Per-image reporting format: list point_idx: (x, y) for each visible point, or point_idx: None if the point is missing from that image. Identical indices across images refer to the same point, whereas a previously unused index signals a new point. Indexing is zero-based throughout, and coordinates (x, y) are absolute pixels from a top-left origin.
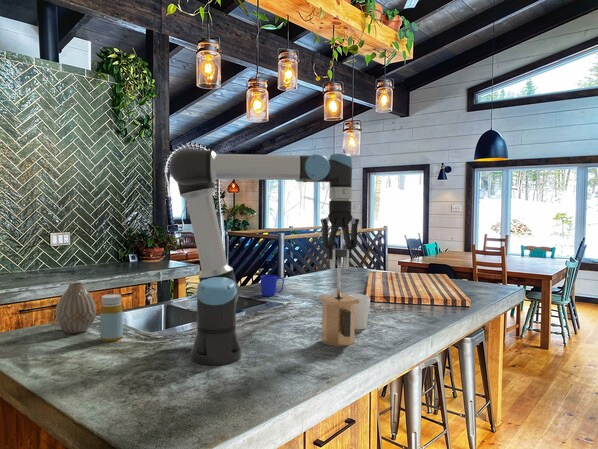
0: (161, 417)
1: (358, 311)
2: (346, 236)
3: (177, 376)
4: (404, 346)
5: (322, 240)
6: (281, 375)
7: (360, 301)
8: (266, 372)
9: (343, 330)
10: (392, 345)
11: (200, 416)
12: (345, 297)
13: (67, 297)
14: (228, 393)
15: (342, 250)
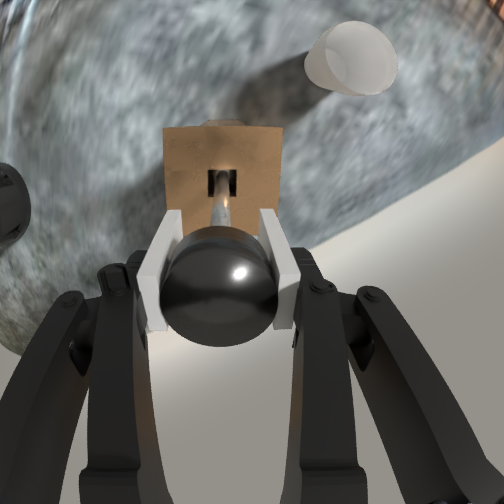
0: (13, 333)
1: (332, 89)
2: (290, 426)
3: None
4: (342, 227)
5: (36, 339)
6: (86, 292)
7: (349, 91)
8: (68, 277)
9: None
10: (324, 216)
11: None
12: (251, 181)
13: None
14: (41, 315)
15: (224, 344)
